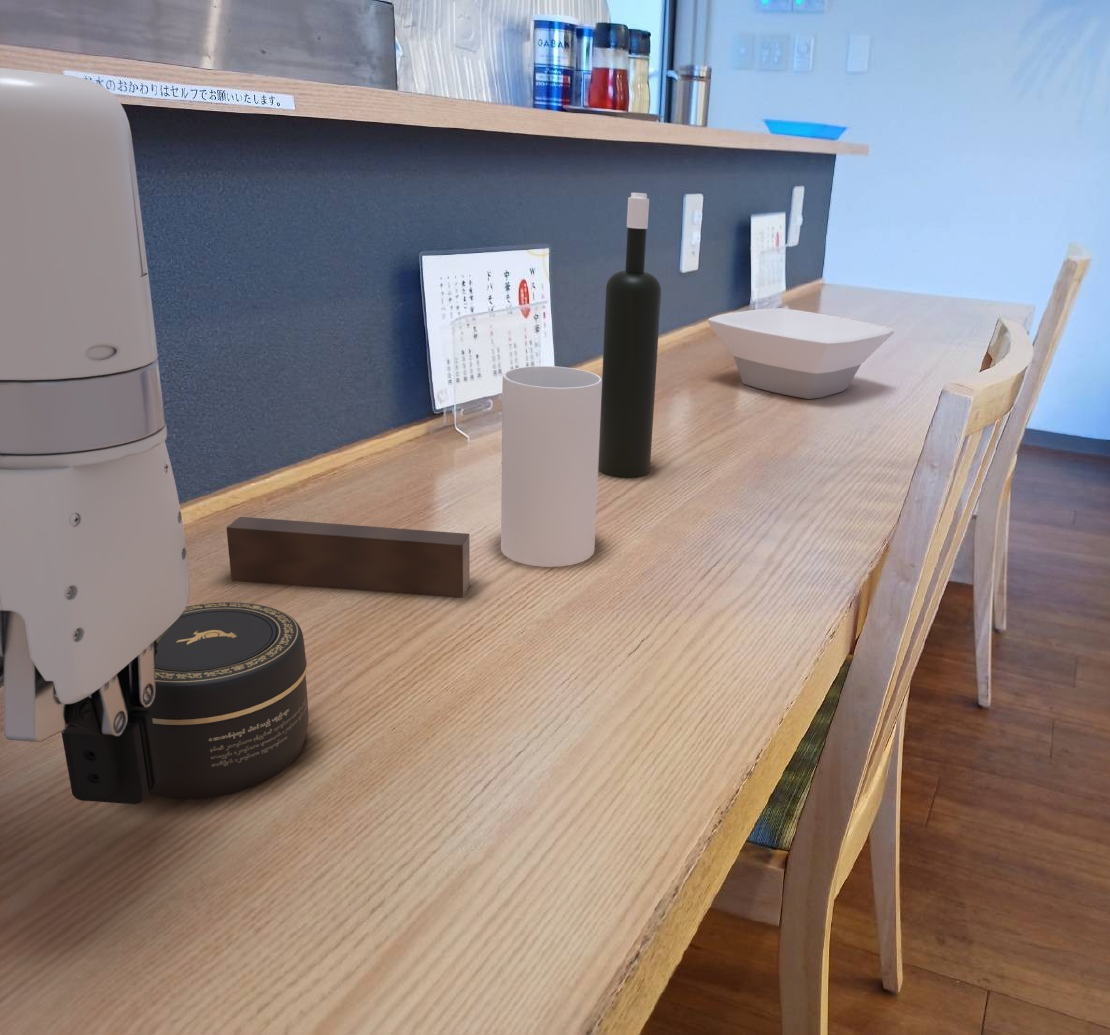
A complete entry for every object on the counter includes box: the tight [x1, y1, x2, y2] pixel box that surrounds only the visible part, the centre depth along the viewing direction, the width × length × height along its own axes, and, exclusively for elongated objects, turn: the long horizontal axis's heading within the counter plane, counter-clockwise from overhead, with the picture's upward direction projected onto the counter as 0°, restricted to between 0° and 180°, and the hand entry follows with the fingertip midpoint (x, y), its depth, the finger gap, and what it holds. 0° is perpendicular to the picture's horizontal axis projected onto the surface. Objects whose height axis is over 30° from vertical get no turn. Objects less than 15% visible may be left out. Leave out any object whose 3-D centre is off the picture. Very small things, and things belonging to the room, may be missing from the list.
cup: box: [500, 365, 602, 568], centre depth 85 cm, size 8×8×16 cm
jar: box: [143, 601, 309, 800], centre depth 55 cm, size 10×10×8 cm
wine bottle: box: [598, 191, 662, 479], centre depth 105 cm, size 6×6×30 cm
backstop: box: [226, 516, 471, 599], centre depth 77 cm, size 18×2×5 cm, turn 89°
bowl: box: [707, 307, 895, 400], centre depth 157 cm, size 24×25×10 cm
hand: (117, 791), depth 46 cm, fingers closed
